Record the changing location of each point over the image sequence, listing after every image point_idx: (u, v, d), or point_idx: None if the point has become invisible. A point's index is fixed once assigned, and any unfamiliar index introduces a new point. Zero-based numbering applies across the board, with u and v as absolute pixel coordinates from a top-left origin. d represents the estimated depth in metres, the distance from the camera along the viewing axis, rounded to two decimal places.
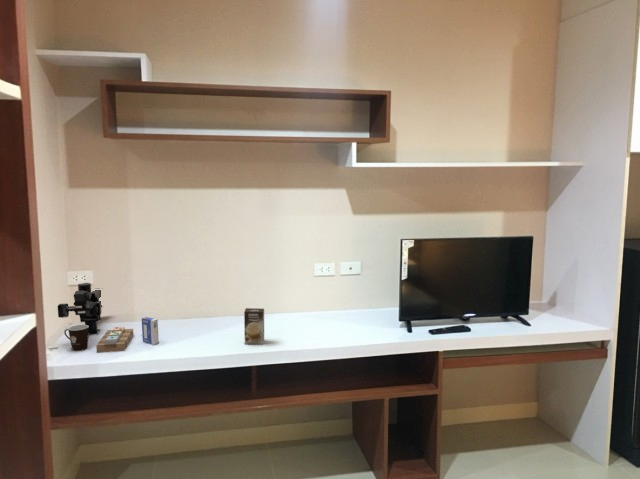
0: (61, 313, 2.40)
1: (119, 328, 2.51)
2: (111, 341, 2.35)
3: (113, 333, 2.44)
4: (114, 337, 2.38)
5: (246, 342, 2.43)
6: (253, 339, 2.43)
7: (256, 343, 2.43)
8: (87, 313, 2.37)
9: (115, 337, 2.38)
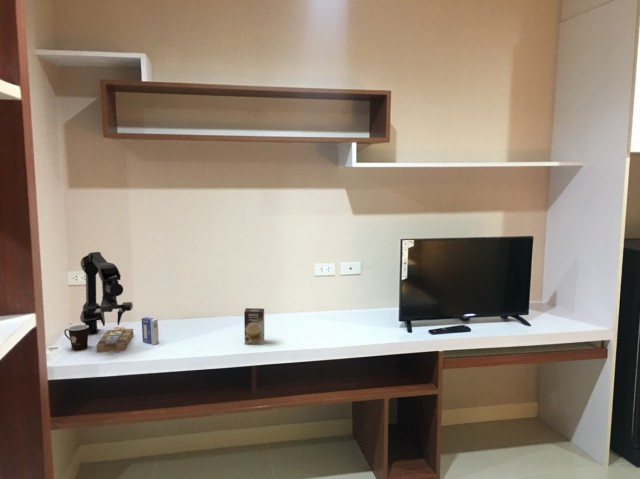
0: None
1: (119, 328, 2.51)
2: (111, 341, 2.35)
3: (113, 333, 2.44)
4: (114, 337, 2.38)
5: (246, 342, 2.43)
6: (253, 339, 2.43)
7: (256, 343, 2.43)
8: (119, 322, 2.37)
9: (115, 337, 2.38)
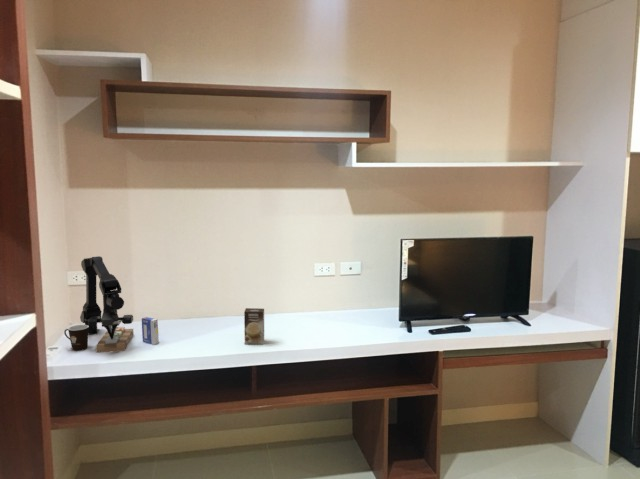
0: None
1: (119, 328, 2.51)
2: (111, 342, 2.35)
3: None
4: (114, 338, 2.38)
5: (246, 342, 2.43)
6: (253, 339, 2.43)
7: (256, 343, 2.43)
8: (113, 334, 2.37)
9: (115, 338, 2.38)
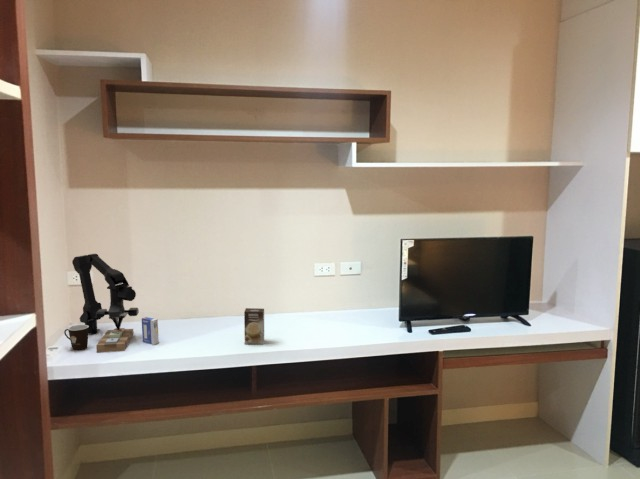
0: None
1: (119, 329, 2.51)
2: None
3: (113, 333, 2.44)
4: (114, 339, 2.38)
5: (246, 342, 2.43)
6: (253, 339, 2.43)
7: (256, 343, 2.43)
8: None
9: (115, 339, 2.38)
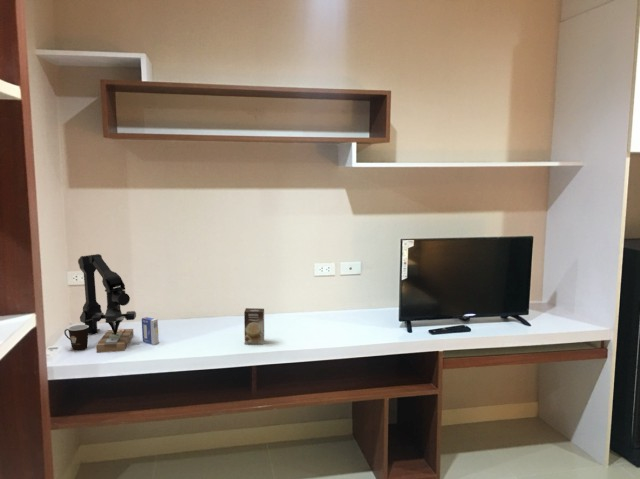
0: None
1: (119, 330, 2.51)
2: None
3: (113, 334, 2.44)
4: (114, 339, 2.38)
5: (246, 342, 2.43)
6: (253, 339, 2.43)
7: (256, 343, 2.43)
8: None
9: (115, 339, 2.38)
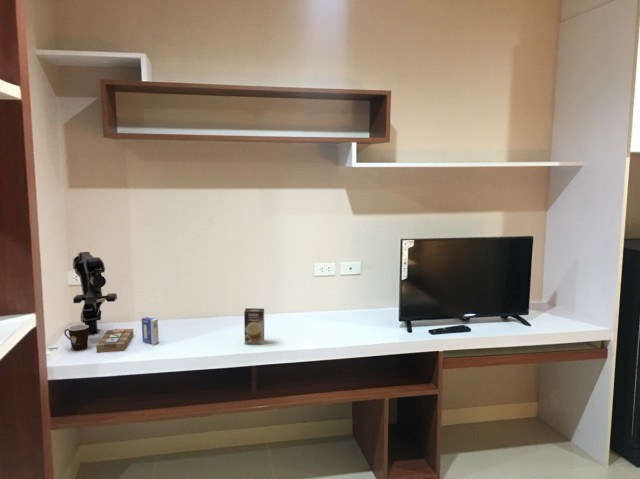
0: None
1: (119, 330, 2.51)
2: None
3: (113, 335, 2.44)
4: (114, 339, 2.38)
5: (246, 342, 2.43)
6: (253, 339, 2.43)
7: (256, 343, 2.43)
8: (98, 312, 2.49)
9: (115, 339, 2.38)
